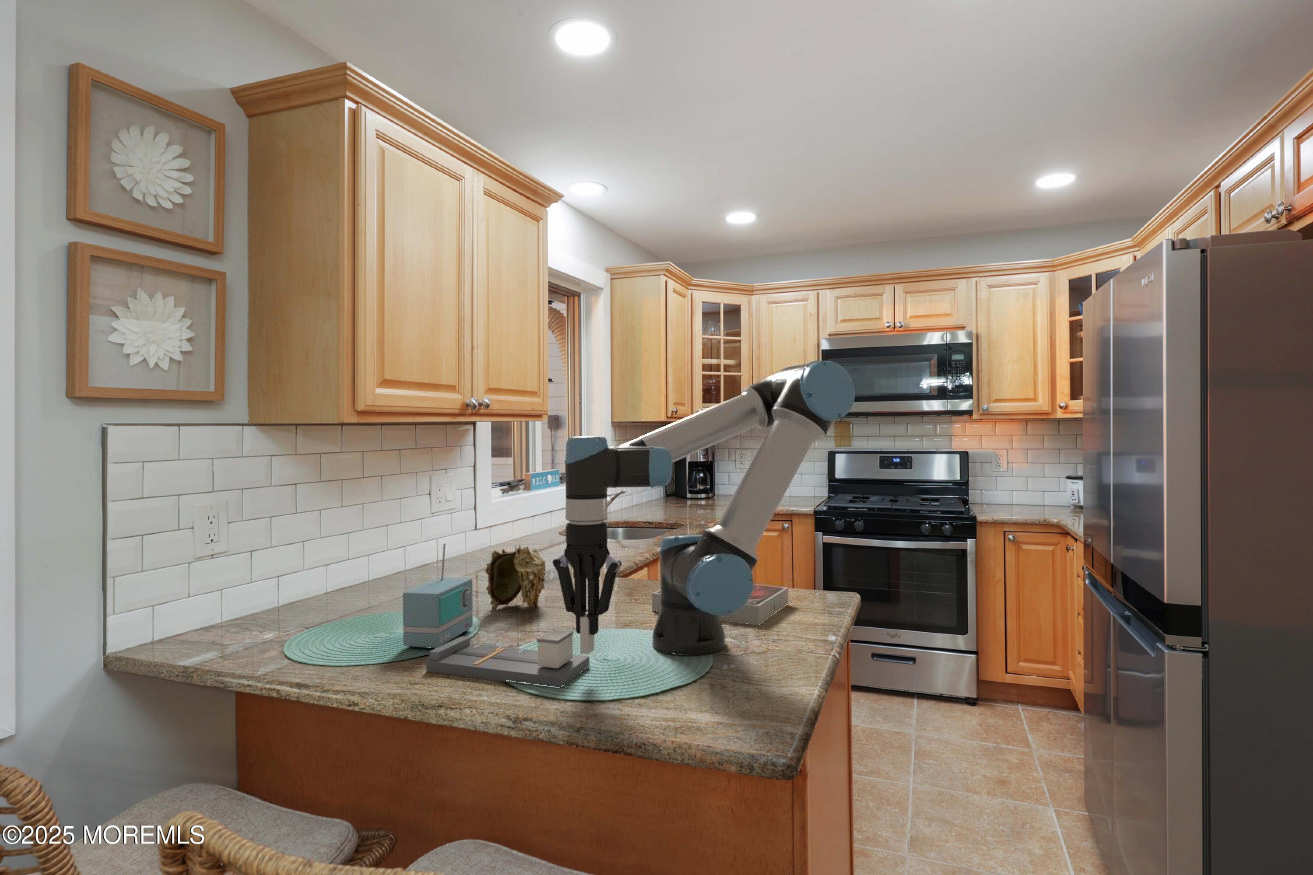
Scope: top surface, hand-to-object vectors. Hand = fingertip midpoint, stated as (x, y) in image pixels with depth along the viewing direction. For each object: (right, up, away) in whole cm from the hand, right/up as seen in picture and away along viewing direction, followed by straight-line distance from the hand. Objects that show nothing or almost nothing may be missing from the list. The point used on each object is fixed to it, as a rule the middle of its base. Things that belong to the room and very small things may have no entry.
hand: (587, 651), depth 124 cm
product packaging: (+29, -5, +50) cm, 58 cm away
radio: (-34, -5, +25) cm, 43 cm away
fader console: (-15, -5, +6) cm, 17 cm away
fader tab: (-6, -3, +2) cm, 7 cm away
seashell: (-23, -5, +51) cm, 56 cm away
